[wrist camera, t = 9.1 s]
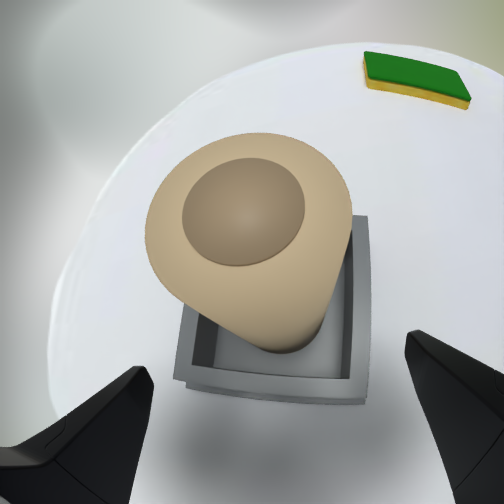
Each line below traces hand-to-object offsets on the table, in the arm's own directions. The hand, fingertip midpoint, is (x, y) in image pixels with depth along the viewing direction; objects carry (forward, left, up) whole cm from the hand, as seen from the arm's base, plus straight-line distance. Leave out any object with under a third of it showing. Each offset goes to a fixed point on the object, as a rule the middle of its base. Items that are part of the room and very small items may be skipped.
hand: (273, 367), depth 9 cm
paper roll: (+4, +1, -10) cm, 11 cm away
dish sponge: (+33, -15, -11) cm, 38 cm away
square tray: (+4, +1, -11) cm, 12 cm away
